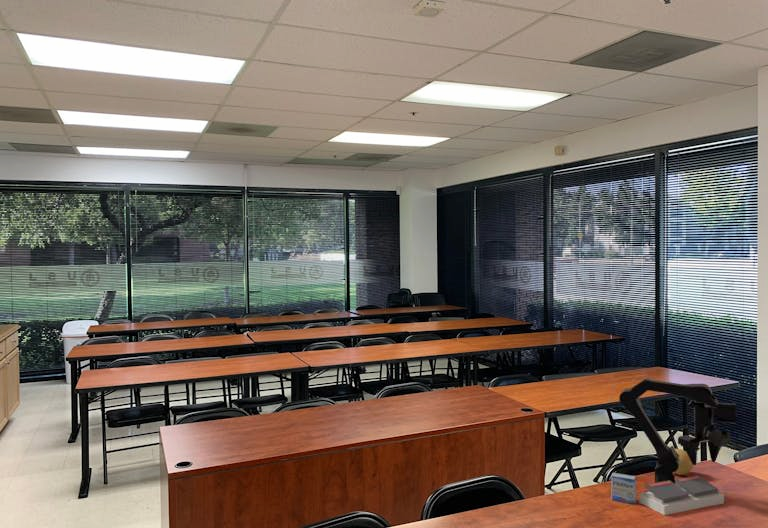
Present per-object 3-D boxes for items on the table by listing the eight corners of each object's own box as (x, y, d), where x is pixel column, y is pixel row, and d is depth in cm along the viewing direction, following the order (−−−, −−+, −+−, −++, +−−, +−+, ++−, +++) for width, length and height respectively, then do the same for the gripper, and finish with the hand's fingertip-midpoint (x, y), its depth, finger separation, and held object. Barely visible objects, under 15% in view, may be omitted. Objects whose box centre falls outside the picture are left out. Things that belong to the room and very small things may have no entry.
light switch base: (639, 502, 195) (639, 490, 195) (696, 491, 204) (696, 480, 204) (664, 515, 185) (664, 503, 185) (724, 503, 194) (723, 491, 194)
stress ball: (695, 477, 221) (683, 455, 228) (699, 464, 214) (687, 441, 222) (670, 481, 221) (659, 458, 229) (673, 468, 215) (662, 445, 223)
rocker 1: (645, 488, 194) (646, 484, 194) (669, 484, 198) (670, 479, 198) (663, 502, 187) (664, 498, 187) (687, 498, 191) (688, 493, 190)
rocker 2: (674, 483, 199) (675, 479, 198) (697, 479, 202) (698, 475, 202) (693, 497, 191) (694, 492, 191) (716, 492, 195) (717, 488, 195)
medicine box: (611, 500, 197) (610, 475, 197) (612, 495, 201) (612, 471, 201) (635, 504, 193) (635, 479, 194) (636, 499, 197) (636, 475, 198)
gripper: (703, 428, 189) (704, 474, 189) (743, 422, 195) (743, 467, 195) (676, 420, 200) (677, 463, 199) (714, 415, 206) (715, 457, 206)
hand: (704, 463), depth 200 cm, fingers open, 9 cm apart
